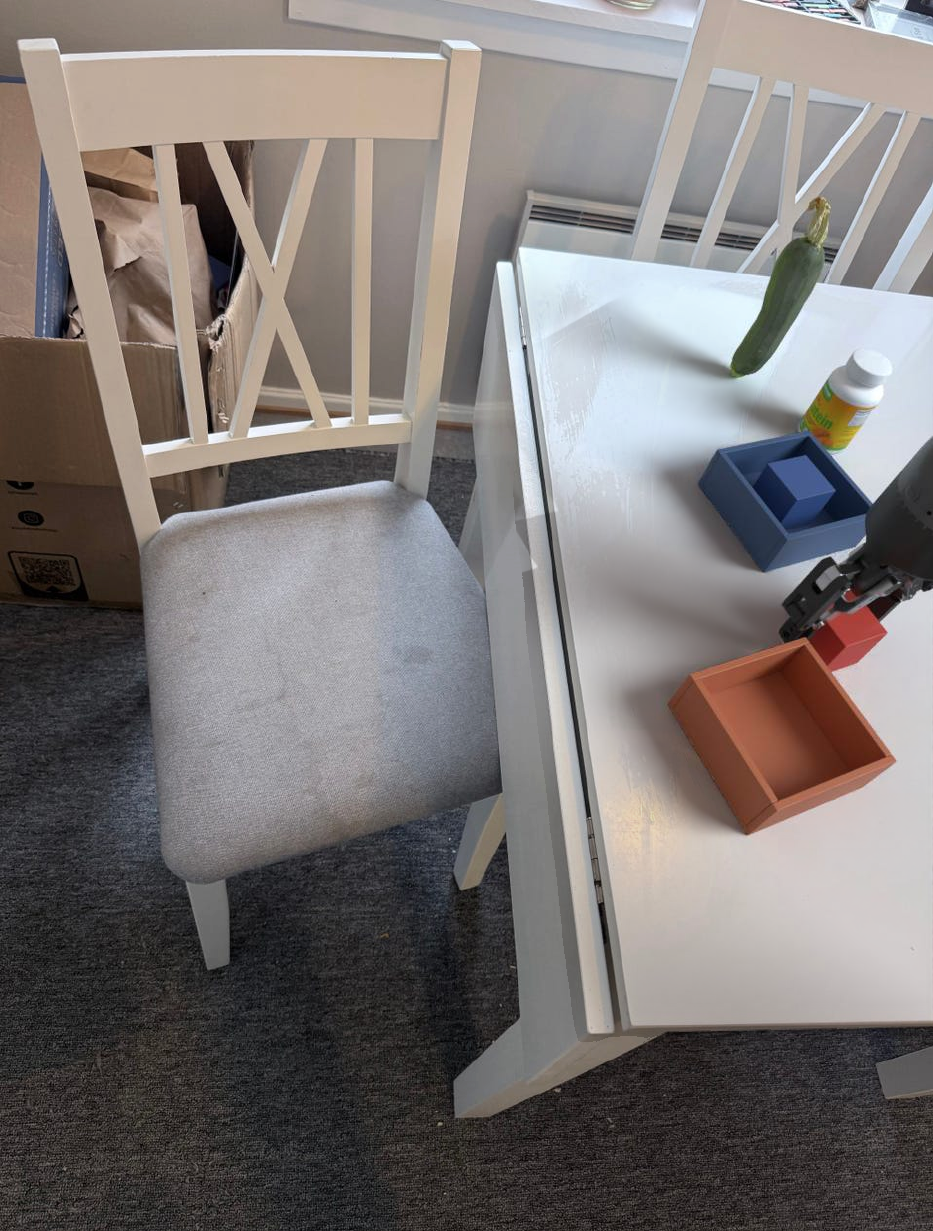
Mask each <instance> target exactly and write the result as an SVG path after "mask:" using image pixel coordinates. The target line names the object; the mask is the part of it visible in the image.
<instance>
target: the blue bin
mask: <svg viewBox="0 0 933 1231" xmlns="http://www.w3.org/2000/svg"><path fill="white" fill-rule="evenodd" d="M804 455H806V456H807V457H808V458H809V459H810V461H811V462H812V463H813V464H814V465H815V466H816V468H817V469H818V470H819V471H820V472H821V474H822V475H823V476H824V477H825V478H826V479H827V481H828V482H829V483H830V484H831V485H832V486H833V488H834V489H835V490H836V491H835V492H834V494H833V495H832V496H831V498H830V499H829V500H828V502H827V503H826V504H825V506H824V507H823V508H822V510H821V511H820V512H819V514H818V515H817V516H816V518H815V519H814V520H813V522H812V523H811V524H809V525H805V526H802V527H798V528H794V529H790V530H785V529H784V527H783V526H782V525H781V524H780V522H779V521H778V520H777V518H776V517H775V516H774V515H773V513H772V512H771V511H770V510H769V508H768V507H767V506H766V504H765V503H764V502H763V501H762V499H761V498H760V497H759V495H758V494H757V493H756V492H755V490H754V489H753V488H752V487H753V486H754V484H755V483H756V481H757V479H758V478H759V476H760V475H761V473H762V472H763V470H764V468H765V467H766V465H767V464H768V463H772V462H777V461H782V460H786V459H791V458H795V457H800V456H804ZM697 485H698V486H699V487H700V489H701V490H702V491H703V494H705V496H706V497H707V498H708V499H709V501H710V502H711V504H712V505H713V506H714V507H715V509H716V510H717V512H718V513H719V515H720V516H721V517H722V518H723V520H724V521H725V523H726V525H728V527H729V528H730V529H731V530H732V532H733V533H734V534H735V536H736V537H737V538H738V540H739V542H740V543H741V544H742V545H743V547H744V548H745V549H746V551H747V552H748V553H749V555H750V556H751V558H752V559H753V560H754V562H755V563H756V564H757V565H758V567H759V568H760V570H761V571H762V573H767V572H772V571H775V570H779V569H781V568H785V567H789V566H792V565H796V564H799V563H802V562H803V563H804V562H806V561H810V560H814V559H817V558H822V557H824V556H828V555H831V554H835V553H839V552H843V551H845V550H850V549H853V548H857V547H858V546H859V544H860V543H861V541H862V540H863V539H864V538H866V529H865V518H866V514H867V511H868V510H869V508H870V507H871V505H872V504H873V503H874V502H873V501H872V500H871V499H870V498H869V497H868V496H867V495H866V494H865V493H864V491H863V490H862V489H861V488H860V487H859V486H858V485H857V484H856V482H855V481H854V480H853V479H852V478H851V477H850V475H848V472H846V471H845V470H844V469H843V467H842V466H841V465H840V464H839V463H838V461H837V460H836V459H835V458H834V457H833V456H832V454H829V453H828V451H827V450H826V449H825V448H824V447H823V446H822V445H821V443H820V442H819V441H818V440H817V439H816V438H815V436H814V435H813V434H812V433H811V432H810V431H805V432H800V433H798V432H795V433H791V434H785V435H781V436H776V437H772V438H771V437H770V438H766V439H761V440H757V441H756V440H755V441H752V442H751V441H750V442H747V443H742V444H741V443H740V444H737V445H732V446H727V447H722V448H718V449H716V450H715V452H714V453H713V456H712V457H711V459H710V461H709V463H708V464H707V466H706V468H705V470H704V472H703V474H702V475H701V477H700V479H699V480H698V483H697Z"/></svg>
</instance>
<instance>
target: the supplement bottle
mask: <svg viewBox="0 0 933 1231" xmlns="http://www.w3.org/2000/svg"><path fill="white" fill-rule="evenodd" d="M892 372H893V364H892V363H891V361H890V360H889V359H888V358H887V357H886V356H885V355H883V354H882V353H880V352H878V351H876V350H873V349H870V348H858V349H855V350H854V351H853V352H852V354H851V355H850V357H849V358H848V360H847V361H846V363H845V365H841V366H838V367H837V368H835V369H833V371H832V372H831V373H830V375H828V377H827V379H826V381H825V382H824V384H823V385H822V386H821V388H820V390H819V392H818V393H817V395H816V396H815V398H814V399H813V401H812V402H811V403H810V406H809V407H808V408H807V410H806V411H805V413H804V415H803V416H802V417H801V419H800V420H799V422H798V425H797V433H800V432H805V431H810V432H811V433H812V434H813V435H814V436H815V438H816V439H817V440H818V441H819V442H820V443H821V445H822V446H823V447H824V448H825V449H826V450H827V451H828V453H829V454H830V455H836V454H840V453H841V452H843V451H845V450H846V448H847V447H848V446H849V445H850V443H851V442H852V441H853V440H854V438H855V437H856V435H857V434H858V432H859V431H860V430H861V428H862V427H863V426H864V425H865V423H866V421H867V420H868V418H870V415H872V413H873V412H874V410H875V409H876V407H878V405H879V403H880V402H881V400H882V399H883V396H884V386H883V385H884V383H886V382H887V380H888V378H889V377H890V376H891V374H892Z"/></svg>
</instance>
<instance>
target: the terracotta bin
mask: <svg viewBox="0 0 933 1231" xmlns="http://www.w3.org/2000/svg"><path fill="white" fill-rule="evenodd" d="M667 706H668V708H669V709H670V711H671V712H672V714H673V716H674V717H675V719H676V720H677V722H678V724H679V725H680V727H681V729H682V730H683V732H684V734H685V735H686V737H687V738H688V740H689V742H690V744H691V745H692V748H694V750H695V752H696V753H697V755H698V756H699V758H700V760H701V761H702V763H703V765H704V766H705V768H706V770H707V772H708V773H709V775H710V776H711V778H712V779H713V781H714V783H715V784H716V786H717V788H718V789H719V791H720V793H721V795H722V796H723V797H724V799H725V802H727V805H728V806H729V807H730V809H731V810H732V812H733V814H734V816H735V817H736V819H737V821H738V823H739V824H740V825H741V827H742V829H743V830H744V832H745V834H746V835H747V836H750V835H752V834H755V833H758V832H761V831H762V830H764V829H767V828H769V827H772V826H774V825H776V824H779V823H781V822H783V821H786V820H788V819H791V818H793V817H795V816H798V815H800V814H802V813H805V812H808V811H810V810H812V809H814V808H817V807H819V806H821V805H824V804H827V803H828V802H829V803H830V802H831V801H834V800H835V799H838V798H841V797H843V796H845V795H848V794H850V793H852V792H855V791H858V790H860V789H863V788H864V787H865V786H867V785H868V784H869V783H871V782H872V781H873V780H875V779H876V778H877V777H879V776H880V775H881V774H883V772H884V773H885V771H887V770H888V769H889V768H891V767H892V766H894V764H896V763H897V762H898V761H897V759H896V758H895V756H894V755H893V754H892V752H891V751H890V749H889V748H888V746H887V745H886V744H885V743H884V741H883V740H882V739H881V737H880V736H879V734H878V733H877V732H876V731H875V729H874V728H873V726H872V725H871V724H870V722H869V721H868V719H867V718H866V717H865V716H864V714H863V713H862V711H861V710H860V709H859V707H858V706H857V704H856V703H855V702H854V701H853V699H852V698H851V696H849V693H848V692H847V691H846V690H845V688H844V687H843V686H842V685H841V683H840V682H839V680H838V679H837V678H836V676H835V675H834V674H833V672H831V671H830V670H829V668H828V667H827V666H826V664H825V663H824V661H823V660H822V659H821V657H820V656H819V655H818V653H817V652H816V651H815V649H814V648H813V647H812V645H811V644H810V643H809V641H808V640H807V638H806V637H804V638H801V639H798V640H794V641H791V642H788V643H782V644H779V645H776V646H773V647H770V648H767V649H763V650H761V651H757V652H754V653H751V654H748V655H745V656H742V657H738V658H735V659H733V660H729V661H727V662H723V663H720V664H717V665H714V666H711V667H708V668H705V669H701V670H698V671H695V672H692V673H690V674H688V676H687V677H686V679H685V680H684V681H683V683H682V684H681V685H680V686H679V688H678V689H677V691H676V692H675V693H674V694H673V696H672V697H671V699H670V700H669V701H668V703H667Z"/></svg>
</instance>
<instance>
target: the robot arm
mask: <svg viewBox="0 0 933 1231" xmlns="http://www.w3.org/2000/svg"><path fill="white" fill-rule="evenodd" d="M872 503H873V504H872V505H871V507H870V508H869V510H868V511H867V514H866V518H865V529H866V535H865V542H863V543H861V544H860V545H858V546H856V547H855V548H854V549H853V550H852V551H850V552H849V554H848V556H847V557H846V558H845V559H844V560H842V561H840V563H837V562H836V560H834V559H835V558H833V557H832V556H827V557H823V558H822V559H821V560H819V562H818V563H817V564H816V565H815V566H814V567H813V569H811V570H810V571H809V573H808V574H807V575H805V577H804V578H803V579H802V580H801V581H800V583H799V584H798V585H797V586H796V587H795V588H793V590H792V591H791V592H790V594H789V595H788V596H787V597H785V599H784V600H783V601H782V603H781V607H782V608H783V609H784V610H785V612H786V613H787V614H788V616H789V617H788V618H787V620H785V622H784V623H783V624H782V625H781V626H780V627H779V629H778V635H779V637H780V638H781V640H782V641H783V644H785V643H788V642H791V641H794V640H798V639H801V638H804V637H806V638H807V640H808V641H809V640H810V639H811V638H812V637H813V636H814V635H815V634H816V633H817V632H818V631H819V630H820V629H821V628H822V627H823V626H824V625H825V624H827V623H828V622H830V621H831V620H833V619H834V618H836V617H837V616H839V615H840V614H844V615H847V616H849V615H852V614H854V613H855V612H857V611H858V610H860V609H861V608H863V607H864V606H867V607H868V608H869V610H870V611H871V612H872V613H873V615H874V616H875V617H876V618H877V620H878V621H879V622H880V623H881V622H882V621H883V620H884V619H885V618H886V617H887V616H888V615H889V614H890V613H891V612H893V611H894V609H896V607H898V606H899V605H900V604H901V603H902V602H907V601H910V600H912V599H913V598H914V597H915V595H916V594H917V593H918V592H920V591H922V593H926V592H928V591H931V590H933V435H932V436H931V437H930V438H929V439H927V441H926V442H924V443H923V445H921V447H920V448H919V449H918V450H917V452H916V453H915V454H914V455H913V456H912V457H911V459H910V460H909V461H908V462H907V463H906V465H905V466H904V467H903V468H902V469H901V470H900V471H899V473H898V474H897V475H896V476H895V477H894V478H893V480H892V481H891V482H890V483H889V484H888V485H887V486H886V488H885V489H884V490H883V491H882V493H881V494H880V495H879V496H878V497H877V498H876V500H874V501H873V502H872ZM848 590H851V591H852V593H853V594H854V595H855V596H856V597H858V598H856V599H855V600H853V601H850V602H848V601H847V600H846V599H845V597H844V595H845V594H846V593H847V592H846V591H848ZM833 603H834V605H833V607H832V608H831V609H829V610H828V611H826V610H827V609H828V608H829V607H830V606H831V605H832V604H833ZM825 611H826V612H825ZM824 612H825V613H824Z"/></svg>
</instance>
